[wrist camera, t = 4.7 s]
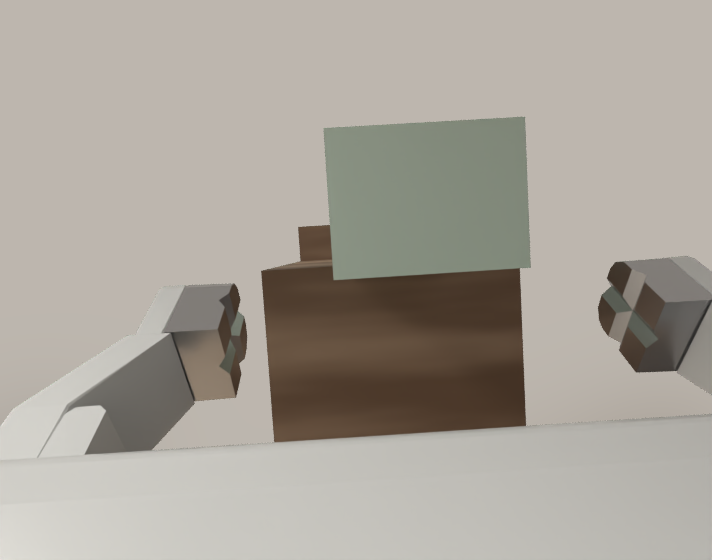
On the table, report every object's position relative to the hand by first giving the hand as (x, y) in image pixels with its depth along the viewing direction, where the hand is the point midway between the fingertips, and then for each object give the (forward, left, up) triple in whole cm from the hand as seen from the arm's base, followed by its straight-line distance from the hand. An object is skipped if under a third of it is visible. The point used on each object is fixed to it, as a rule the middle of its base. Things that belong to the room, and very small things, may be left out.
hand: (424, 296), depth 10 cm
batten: (-6, +7, +1) cm, 9 cm away
